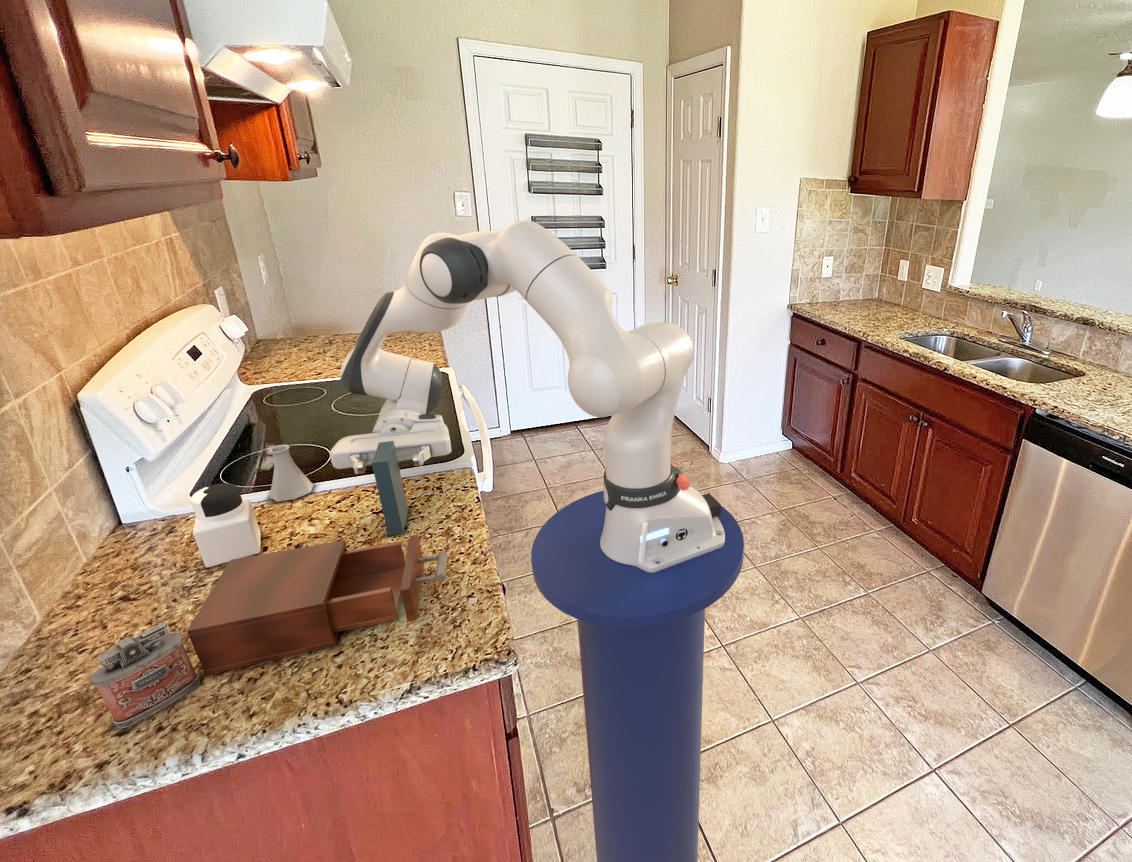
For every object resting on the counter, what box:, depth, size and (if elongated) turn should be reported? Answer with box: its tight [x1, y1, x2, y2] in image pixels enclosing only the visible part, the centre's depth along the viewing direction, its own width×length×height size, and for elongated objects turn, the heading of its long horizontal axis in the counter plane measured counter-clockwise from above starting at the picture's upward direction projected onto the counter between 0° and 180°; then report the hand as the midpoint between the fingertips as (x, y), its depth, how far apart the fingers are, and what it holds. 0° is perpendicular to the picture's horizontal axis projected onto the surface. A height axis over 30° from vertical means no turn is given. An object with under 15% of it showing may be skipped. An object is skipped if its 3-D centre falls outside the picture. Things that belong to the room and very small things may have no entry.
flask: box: [268, 443, 314, 502], centre depth 112 cm, size 7×7×10 cm
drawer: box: [326, 534, 449, 633], centre depth 86 cm, size 18×13×6 cm
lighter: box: [90, 622, 201, 729], centre depth 69 cm, size 8×3×10 cm, turn 151°
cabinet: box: [186, 539, 349, 676], centre depth 82 cm, size 15×15×8 cm
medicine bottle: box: [190, 482, 261, 568], centre depth 95 cm, size 7×7×12 cm
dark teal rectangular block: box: [371, 441, 409, 537], centre depth 103 cm, size 2×8×15 cm, turn 21°
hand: (388, 466), depth 104 cm, fingers open, 8 cm apart
